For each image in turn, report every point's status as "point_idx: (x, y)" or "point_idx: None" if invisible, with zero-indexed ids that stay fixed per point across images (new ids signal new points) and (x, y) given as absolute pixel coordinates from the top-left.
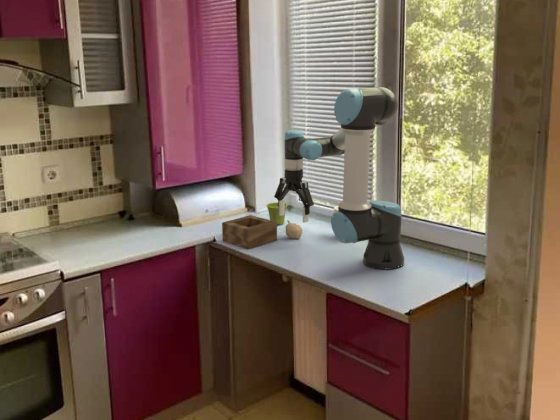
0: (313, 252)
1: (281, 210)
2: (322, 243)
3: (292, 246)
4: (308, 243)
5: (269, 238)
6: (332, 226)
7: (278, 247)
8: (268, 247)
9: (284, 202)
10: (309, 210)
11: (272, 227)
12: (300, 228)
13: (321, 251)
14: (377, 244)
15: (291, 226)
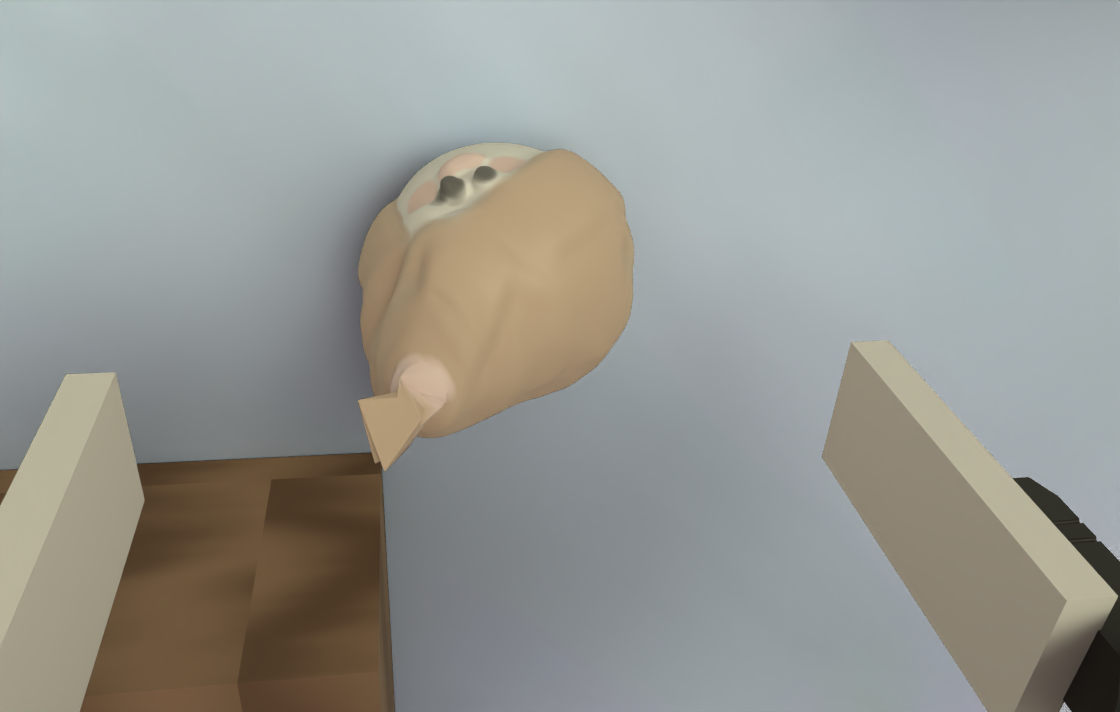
0: (1022, 444)
1: (105, 559)
2: (982, 119)
3: (700, 466)
4: (806, 255)
5: (386, 608)
6: None
7: (590, 582)
8: (502, 646)
9: (8, 634)
10: (1102, 550)
11: (383, 685)
12: (617, 256)
13: (1094, 365)
14: None
15: (510, 401)
